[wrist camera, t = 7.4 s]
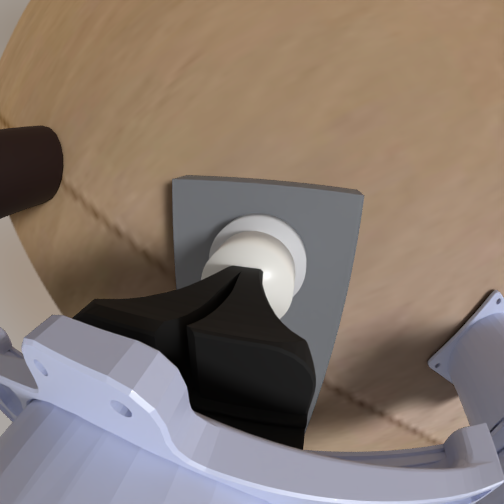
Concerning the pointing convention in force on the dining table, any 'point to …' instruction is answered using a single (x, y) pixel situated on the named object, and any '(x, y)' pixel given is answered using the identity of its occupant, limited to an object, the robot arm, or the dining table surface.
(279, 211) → the knob panel
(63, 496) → the robot arm
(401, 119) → the dining table surface
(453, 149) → the dining table surface
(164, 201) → the dining table surface
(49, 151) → the bottle
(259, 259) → the knob
